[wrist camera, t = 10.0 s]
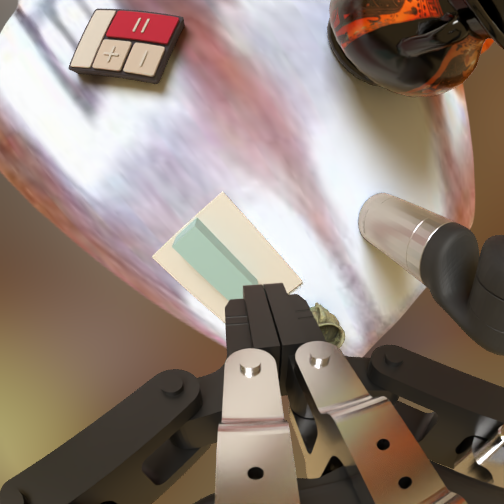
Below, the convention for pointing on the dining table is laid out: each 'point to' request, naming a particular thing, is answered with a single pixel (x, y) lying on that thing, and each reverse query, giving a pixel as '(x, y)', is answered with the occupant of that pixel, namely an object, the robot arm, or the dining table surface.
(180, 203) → the dining table surface
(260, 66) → the dining table surface
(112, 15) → the calculator
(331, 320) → the vessel
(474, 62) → the amphora vase
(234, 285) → the block
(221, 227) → the mat
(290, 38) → the dining table surface
